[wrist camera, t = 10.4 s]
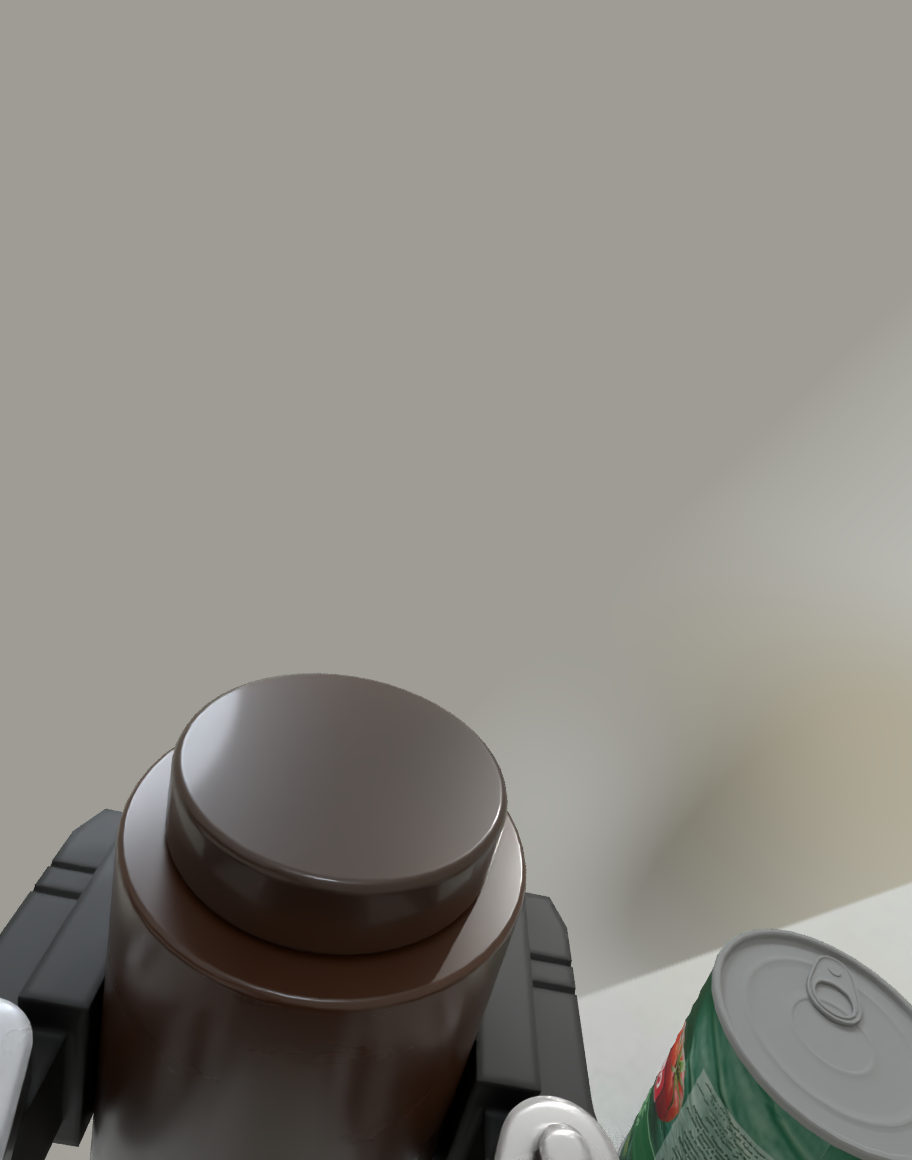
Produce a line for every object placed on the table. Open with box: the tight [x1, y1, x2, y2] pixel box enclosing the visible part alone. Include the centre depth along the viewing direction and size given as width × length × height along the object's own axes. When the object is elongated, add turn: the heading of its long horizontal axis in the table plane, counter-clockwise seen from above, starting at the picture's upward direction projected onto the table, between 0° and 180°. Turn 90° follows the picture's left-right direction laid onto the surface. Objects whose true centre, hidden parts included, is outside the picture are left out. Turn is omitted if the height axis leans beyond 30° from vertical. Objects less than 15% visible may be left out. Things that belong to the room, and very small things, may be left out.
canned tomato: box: [618, 929, 912, 1160], centre depth 27 cm, size 8×8×11 cm
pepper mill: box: [90, 673, 526, 1160], centre depth 9 cm, size 4×4×10 cm
